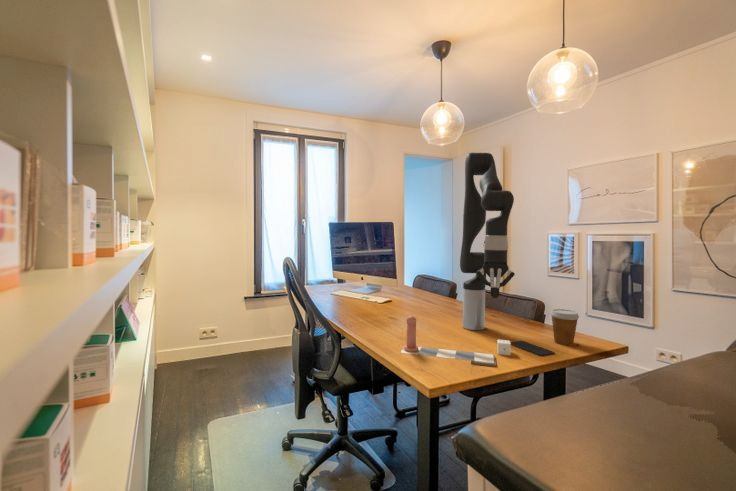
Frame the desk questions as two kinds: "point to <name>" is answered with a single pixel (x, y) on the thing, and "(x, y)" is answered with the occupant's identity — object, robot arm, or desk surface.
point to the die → (503, 347)
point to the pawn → (411, 335)
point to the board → (457, 355)
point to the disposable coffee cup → (564, 325)
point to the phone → (532, 348)
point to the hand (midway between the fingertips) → (494, 297)
